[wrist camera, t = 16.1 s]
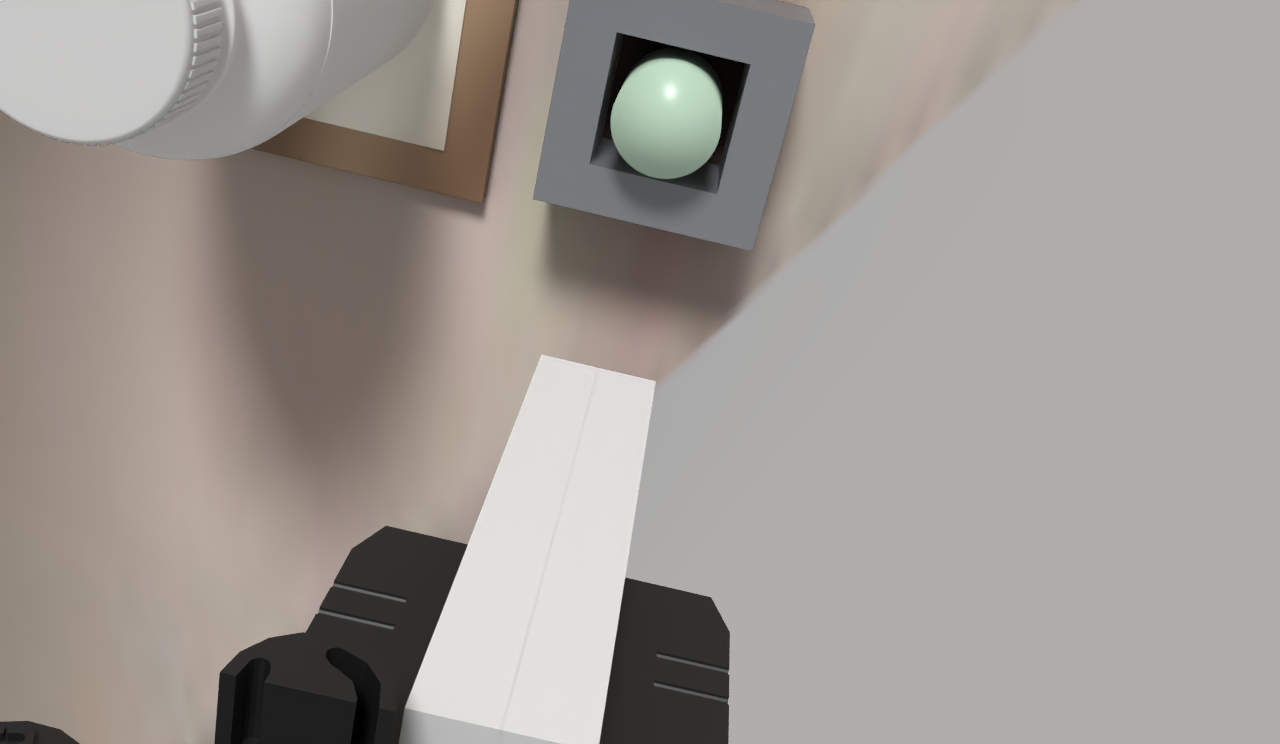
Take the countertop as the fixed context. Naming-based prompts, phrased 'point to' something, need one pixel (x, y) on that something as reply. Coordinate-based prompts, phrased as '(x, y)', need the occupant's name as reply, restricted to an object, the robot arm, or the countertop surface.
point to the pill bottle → (189, 67)
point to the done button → (668, 114)
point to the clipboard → (419, 107)
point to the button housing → (738, 187)
